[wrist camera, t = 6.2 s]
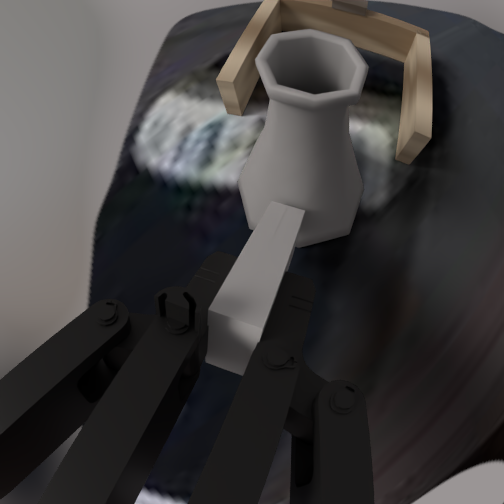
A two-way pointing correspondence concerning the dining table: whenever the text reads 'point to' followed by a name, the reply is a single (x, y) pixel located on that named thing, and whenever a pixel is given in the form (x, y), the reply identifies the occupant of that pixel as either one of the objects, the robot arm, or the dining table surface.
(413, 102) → the u-shaped wooden frame
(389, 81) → the dining table surface
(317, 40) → the flask
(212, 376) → the dining table surface
